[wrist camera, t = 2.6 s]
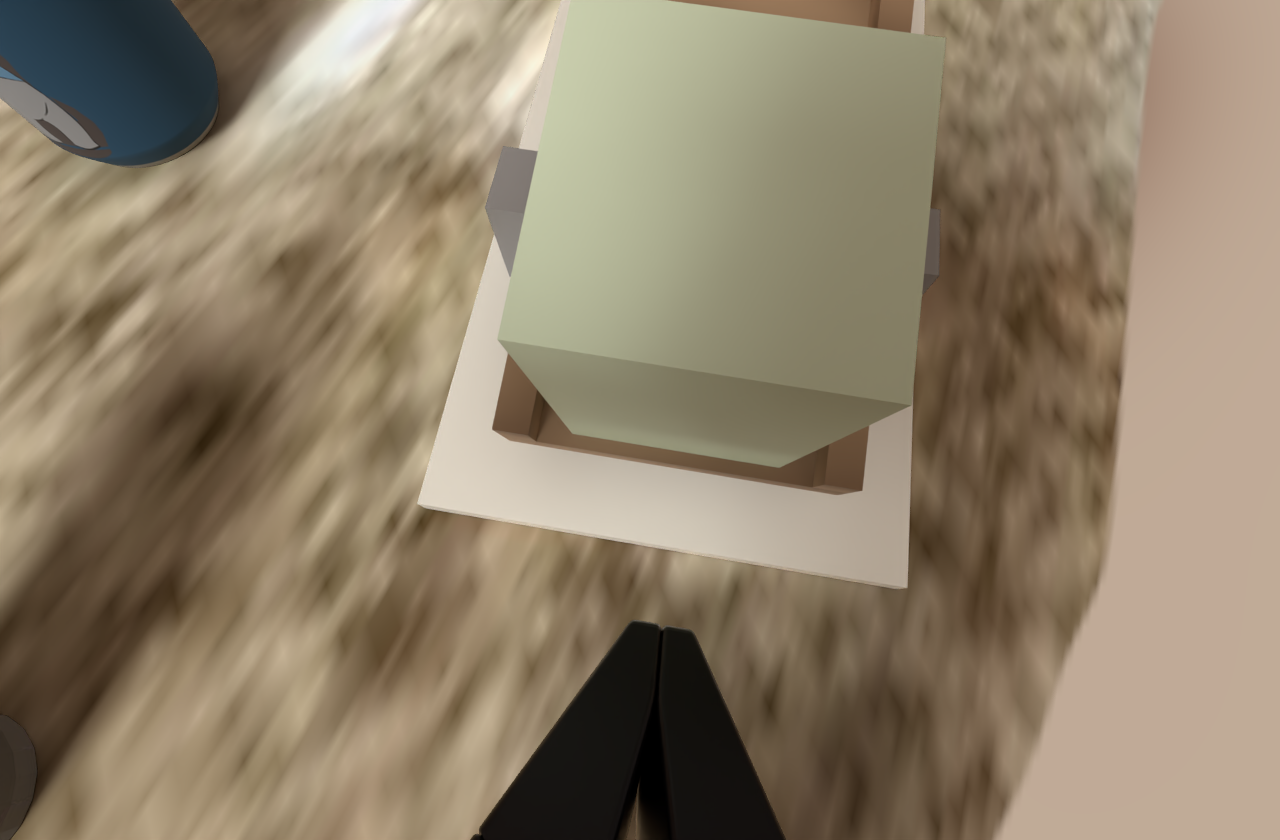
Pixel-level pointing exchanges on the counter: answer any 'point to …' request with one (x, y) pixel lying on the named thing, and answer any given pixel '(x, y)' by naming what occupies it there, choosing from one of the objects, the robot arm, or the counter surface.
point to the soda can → (108, 77)
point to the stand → (644, 493)
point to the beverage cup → (15, 776)
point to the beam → (824, 470)
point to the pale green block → (726, 228)
